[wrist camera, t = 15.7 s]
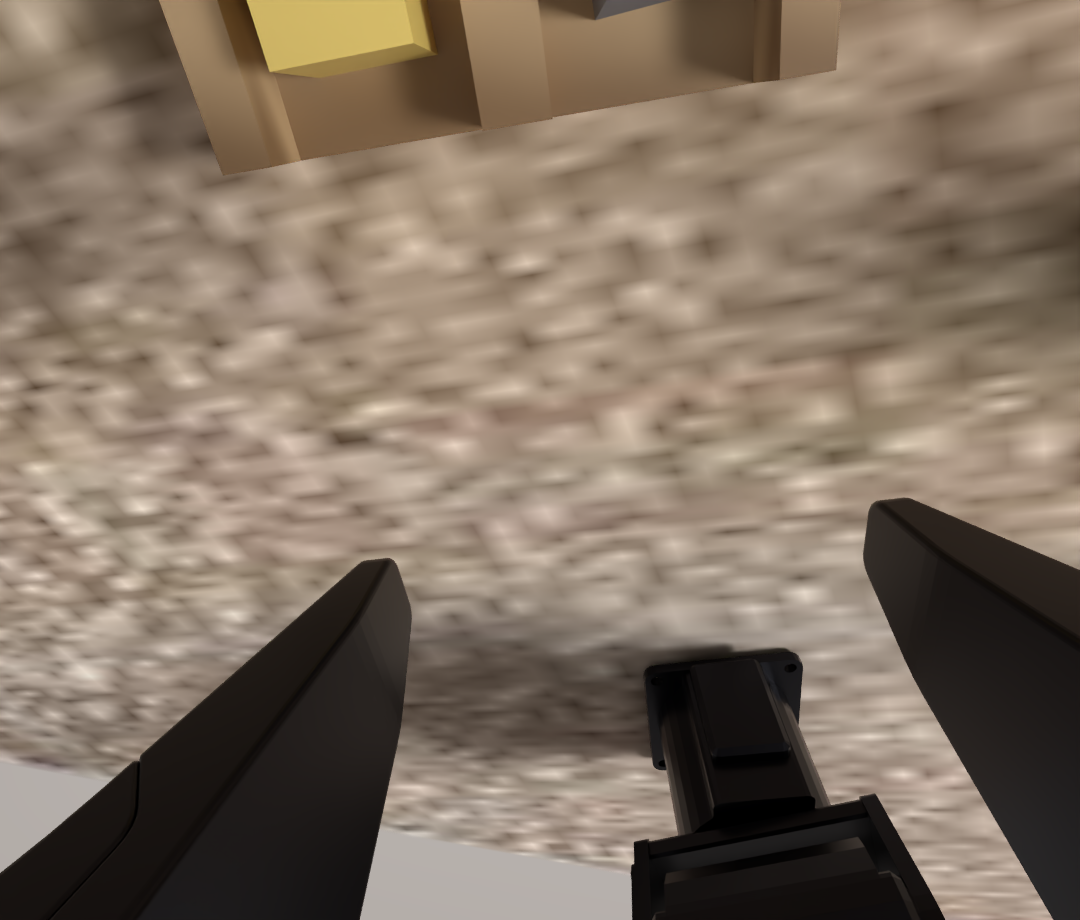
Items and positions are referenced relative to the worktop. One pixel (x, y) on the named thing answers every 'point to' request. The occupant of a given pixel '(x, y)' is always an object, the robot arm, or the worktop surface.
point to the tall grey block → (619, 6)
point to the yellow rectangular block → (341, 34)
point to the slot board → (486, 70)
